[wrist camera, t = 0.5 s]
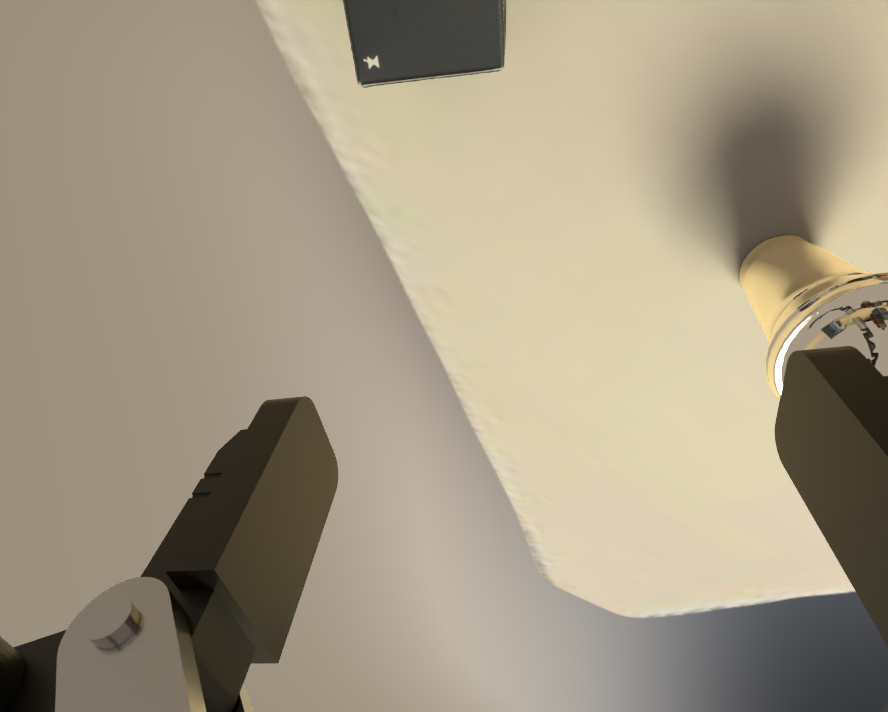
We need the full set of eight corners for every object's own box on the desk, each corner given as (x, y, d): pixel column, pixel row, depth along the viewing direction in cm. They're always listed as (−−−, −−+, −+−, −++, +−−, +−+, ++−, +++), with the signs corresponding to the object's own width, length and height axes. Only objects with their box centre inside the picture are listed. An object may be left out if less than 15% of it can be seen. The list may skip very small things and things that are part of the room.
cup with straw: (821, 326, 38) (1071, 589, 21) (686, 322, 38) (823, 573, 22) (872, 204, 33) (1246, 420, 16) (716, 203, 34) (921, 408, 17)
